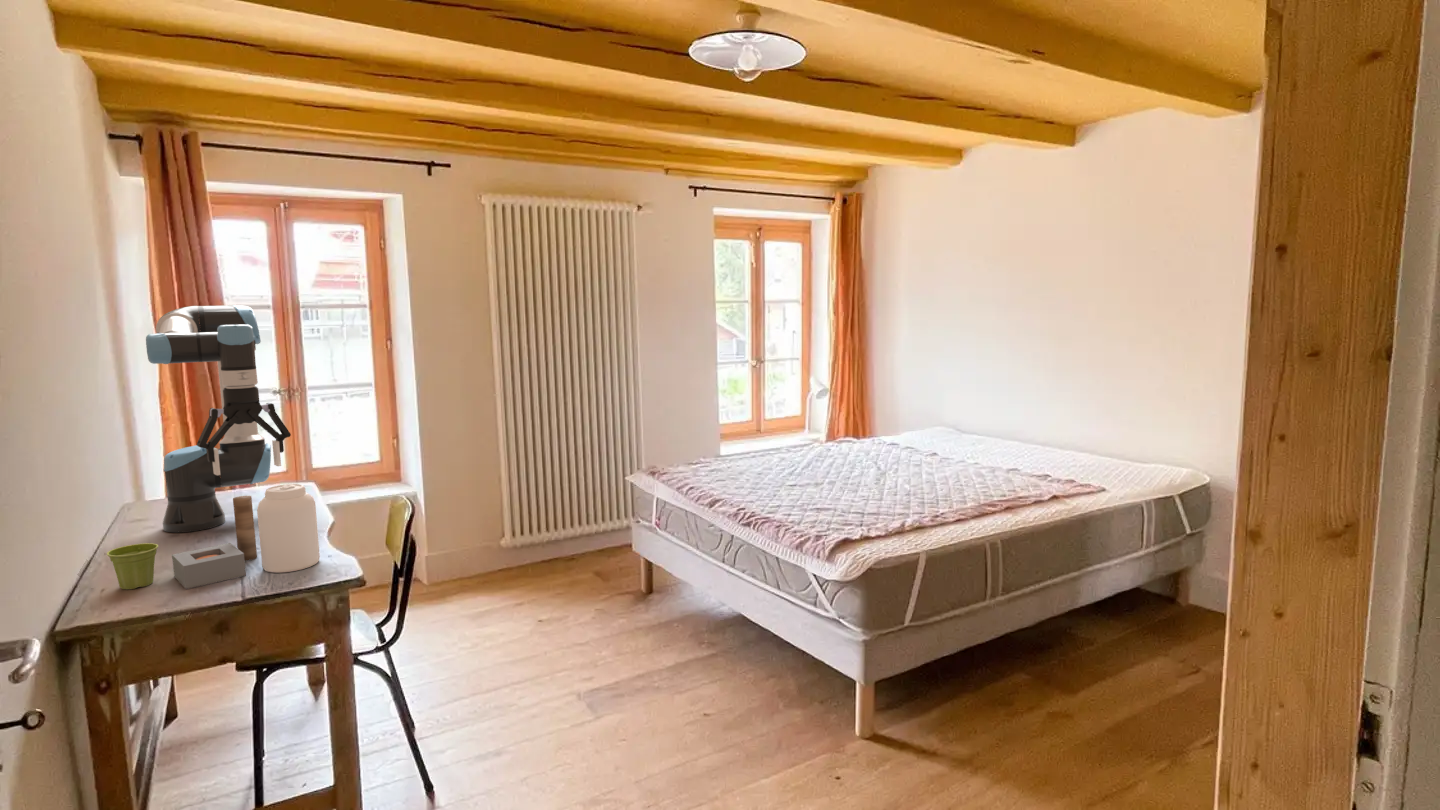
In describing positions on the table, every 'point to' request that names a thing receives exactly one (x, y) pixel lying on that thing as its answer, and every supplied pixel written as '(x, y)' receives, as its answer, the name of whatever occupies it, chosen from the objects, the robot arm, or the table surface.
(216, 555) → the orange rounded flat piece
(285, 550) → the can
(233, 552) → the box
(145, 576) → the plant pot
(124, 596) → the table surface
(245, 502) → the dowel
